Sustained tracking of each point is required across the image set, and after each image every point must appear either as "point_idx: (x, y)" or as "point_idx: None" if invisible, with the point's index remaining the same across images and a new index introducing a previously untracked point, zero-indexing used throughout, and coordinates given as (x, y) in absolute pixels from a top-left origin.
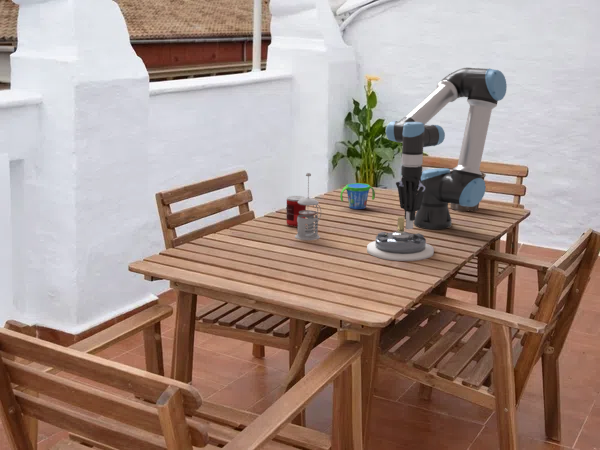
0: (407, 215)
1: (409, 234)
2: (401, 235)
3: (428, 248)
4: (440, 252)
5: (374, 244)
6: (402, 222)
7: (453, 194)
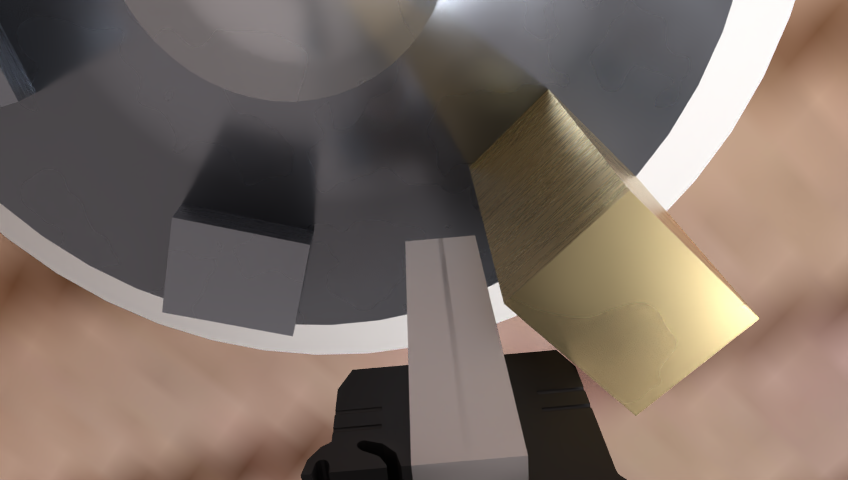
0: (459, 391)
1: None
2: None
3: None
4: (46, 313)
5: None
6: (519, 228)
7: None
